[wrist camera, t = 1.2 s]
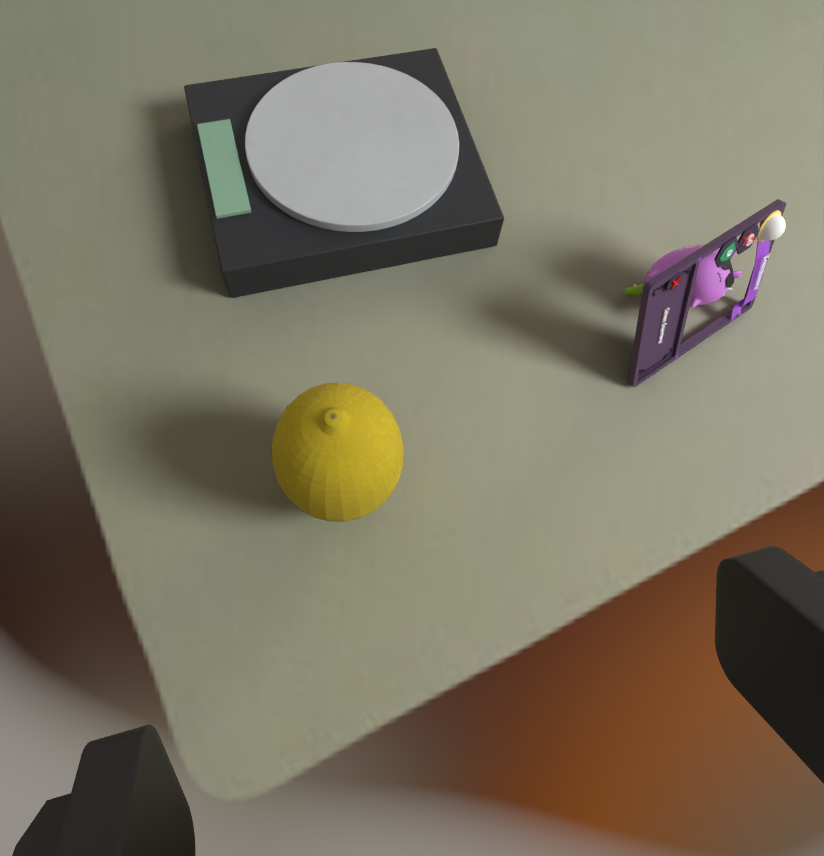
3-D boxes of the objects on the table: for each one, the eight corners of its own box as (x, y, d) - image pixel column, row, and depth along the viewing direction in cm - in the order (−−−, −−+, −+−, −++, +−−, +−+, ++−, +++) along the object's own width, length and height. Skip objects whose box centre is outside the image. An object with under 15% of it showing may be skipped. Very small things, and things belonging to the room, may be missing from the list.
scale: (230, 298, 36) (219, 264, 33) (193, 118, 41) (180, 75, 38) (497, 246, 38) (506, 210, 36) (433, 81, 43) (437, 38, 40)
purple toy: (662, 296, 29) (801, 206, 32) (579, 243, 32) (711, 165, 35) (643, 396, 35) (763, 313, 37) (572, 343, 38) (688, 269, 40)
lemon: (421, 468, 33) (436, 399, 26) (356, 563, 31) (351, 517, 24) (329, 409, 34) (317, 326, 27) (260, 497, 32) (226, 435, 25)
